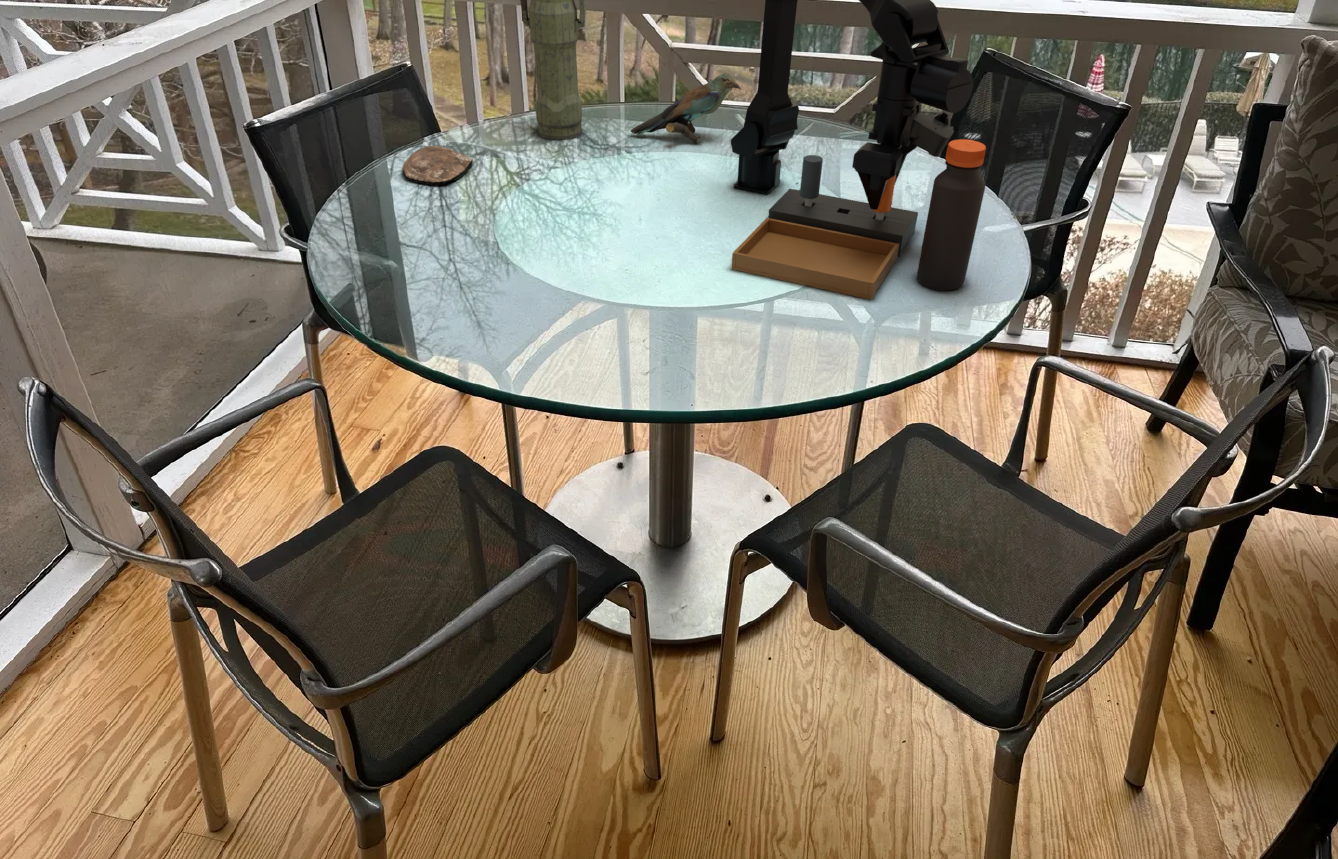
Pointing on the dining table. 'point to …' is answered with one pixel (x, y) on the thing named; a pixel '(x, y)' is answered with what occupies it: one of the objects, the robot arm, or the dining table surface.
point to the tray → (816, 257)
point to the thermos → (556, 65)
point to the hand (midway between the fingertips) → (882, 198)
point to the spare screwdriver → (811, 178)
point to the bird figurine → (690, 108)
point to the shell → (436, 165)
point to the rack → (846, 217)
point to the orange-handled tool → (886, 199)
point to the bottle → (952, 217)
